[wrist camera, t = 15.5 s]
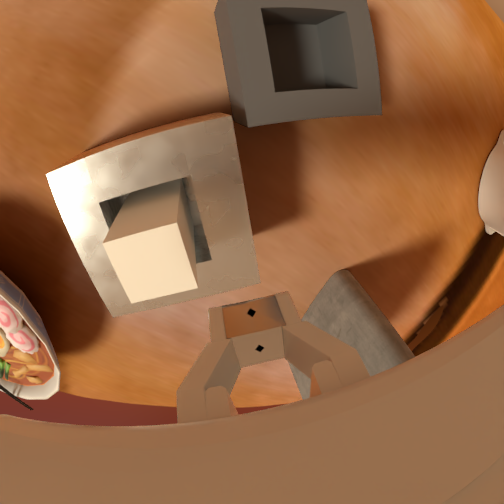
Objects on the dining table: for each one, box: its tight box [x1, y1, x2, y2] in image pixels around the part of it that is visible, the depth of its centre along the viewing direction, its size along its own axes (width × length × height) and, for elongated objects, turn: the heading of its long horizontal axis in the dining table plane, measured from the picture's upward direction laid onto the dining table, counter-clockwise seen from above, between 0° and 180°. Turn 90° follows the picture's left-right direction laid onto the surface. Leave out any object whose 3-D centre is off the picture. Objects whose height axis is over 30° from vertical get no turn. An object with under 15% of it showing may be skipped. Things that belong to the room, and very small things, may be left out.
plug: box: [102, 178, 198, 303], centre depth 18 cm, size 4×4×10 cm
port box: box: [46, 112, 261, 317], centre depth 20 cm, size 12×12×7 cm
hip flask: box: [288, 270, 415, 400], centre depth 27 cm, size 16×4×20 cm, turn 161°
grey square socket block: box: [214, 0, 382, 127], centre depth 16 cm, size 10×10×6 cm
